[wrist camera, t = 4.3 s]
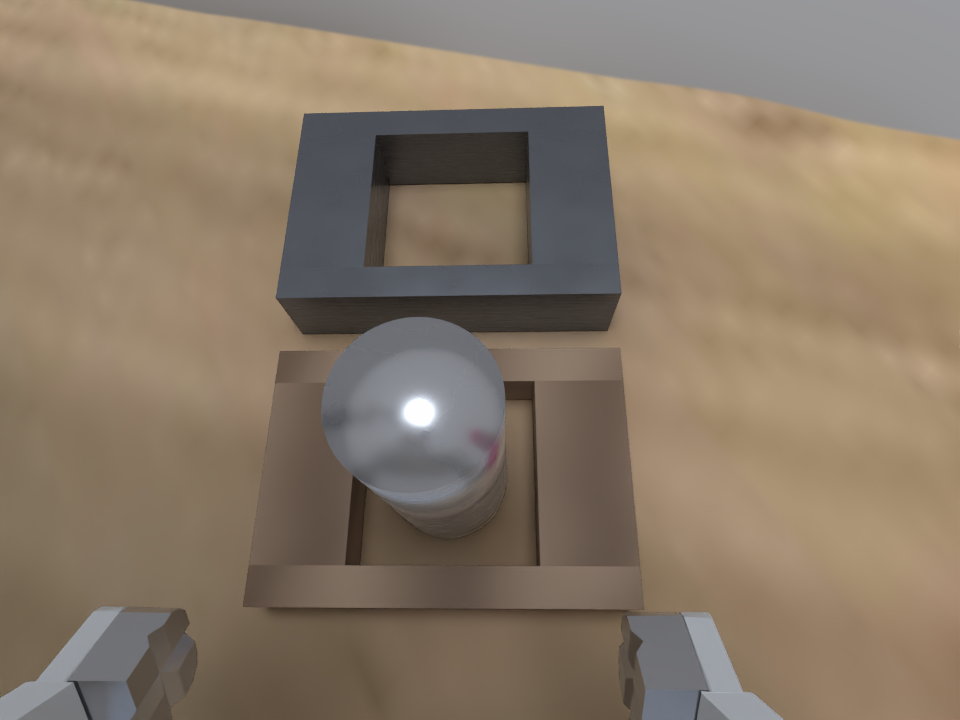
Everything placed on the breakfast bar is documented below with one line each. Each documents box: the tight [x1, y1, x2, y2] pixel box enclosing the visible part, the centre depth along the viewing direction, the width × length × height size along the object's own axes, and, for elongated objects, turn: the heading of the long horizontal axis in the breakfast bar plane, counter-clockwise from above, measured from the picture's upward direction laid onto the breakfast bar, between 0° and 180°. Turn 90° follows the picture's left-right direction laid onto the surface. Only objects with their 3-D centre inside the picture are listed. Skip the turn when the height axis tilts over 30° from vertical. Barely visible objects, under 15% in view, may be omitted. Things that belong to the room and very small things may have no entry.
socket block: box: [276, 106, 621, 334], centre depth 24 cm, size 12×8×3 cm
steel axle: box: [321, 317, 506, 538], centre depth 17 cm, size 4×4×9 cm
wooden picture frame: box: [243, 348, 644, 610], centre depth 20 cm, size 12×8×2 cm
